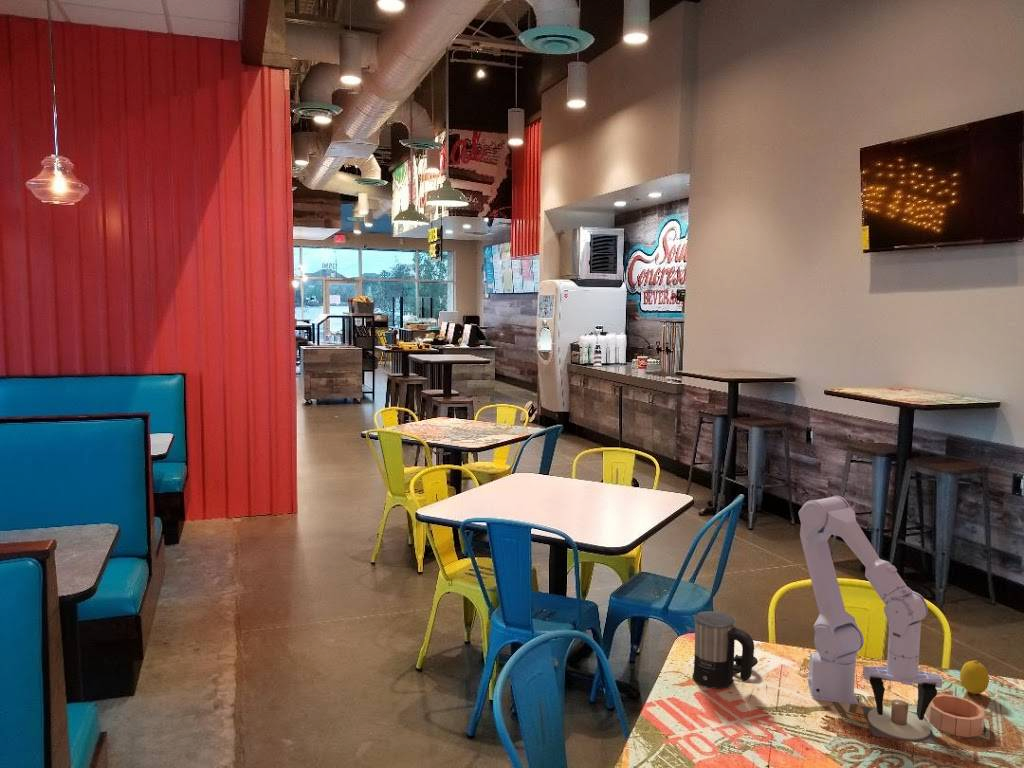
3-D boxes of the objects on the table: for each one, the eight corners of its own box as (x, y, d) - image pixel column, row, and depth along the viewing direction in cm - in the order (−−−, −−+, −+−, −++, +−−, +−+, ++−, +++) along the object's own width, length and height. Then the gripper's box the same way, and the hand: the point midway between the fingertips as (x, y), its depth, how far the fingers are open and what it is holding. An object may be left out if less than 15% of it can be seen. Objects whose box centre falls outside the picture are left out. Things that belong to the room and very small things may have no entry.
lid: (874, 735, 157) (875, 713, 157) (862, 706, 168) (864, 686, 168) (937, 743, 154) (939, 721, 154) (921, 713, 166) (923, 693, 165)
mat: (873, 737, 157) (873, 735, 157) (861, 707, 169) (861, 705, 169) (938, 746, 154) (939, 744, 154) (922, 715, 166) (922, 713, 166)
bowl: (935, 734, 158) (936, 715, 158) (921, 709, 168) (922, 691, 168) (989, 741, 156) (991, 722, 156) (973, 715, 166) (974, 697, 165)
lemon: (991, 702, 172) (994, 667, 171) (964, 699, 173) (966, 664, 172) (981, 690, 177) (984, 656, 176) (955, 687, 178) (957, 653, 177)
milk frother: (688, 685, 178) (691, 622, 176) (697, 656, 193) (700, 598, 191) (754, 696, 173) (756, 632, 171) (758, 666, 188) (761, 606, 186)
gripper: (869, 656, 158) (865, 720, 159) (948, 664, 154) (943, 730, 156) (862, 641, 164) (858, 703, 166) (937, 649, 161) (933, 712, 162)
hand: (899, 715), depth 161 cm, fingers open, 7 cm apart
